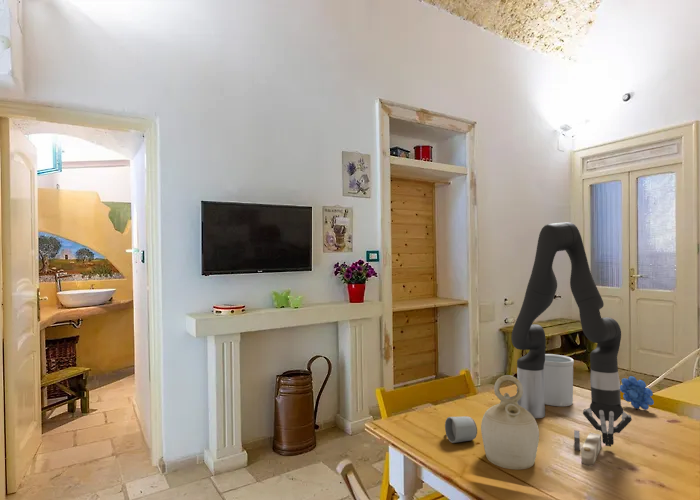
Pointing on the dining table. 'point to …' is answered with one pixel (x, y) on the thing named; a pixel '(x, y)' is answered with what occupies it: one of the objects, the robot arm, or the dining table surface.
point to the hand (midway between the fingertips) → (608, 445)
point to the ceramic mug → (460, 429)
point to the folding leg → (591, 449)
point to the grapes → (636, 393)
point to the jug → (509, 430)
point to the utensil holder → (558, 380)
